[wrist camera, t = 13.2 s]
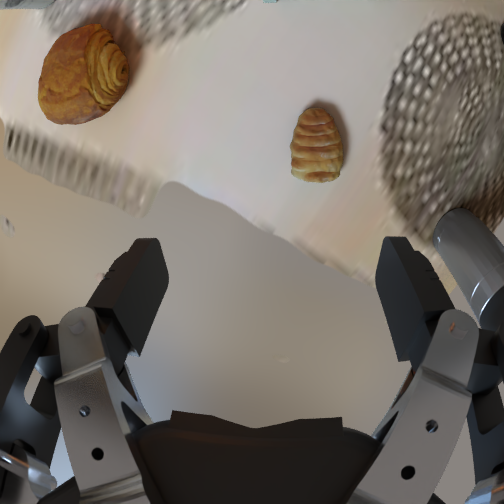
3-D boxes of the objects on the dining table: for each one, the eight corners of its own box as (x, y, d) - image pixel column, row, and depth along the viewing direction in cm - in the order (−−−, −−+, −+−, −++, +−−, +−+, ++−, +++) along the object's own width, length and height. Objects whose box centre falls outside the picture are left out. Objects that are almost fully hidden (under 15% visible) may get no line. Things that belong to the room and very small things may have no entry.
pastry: (286, 107, 32) (288, 111, 29) (340, 107, 31) (347, 111, 28) (291, 176, 37) (292, 187, 34) (340, 175, 36) (347, 186, 33)
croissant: (137, 113, 35) (117, 126, 29) (51, 123, 33) (22, 139, 27) (140, 19, 26) (119, 11, 20) (48, 40, 25) (17, 42, 18)
